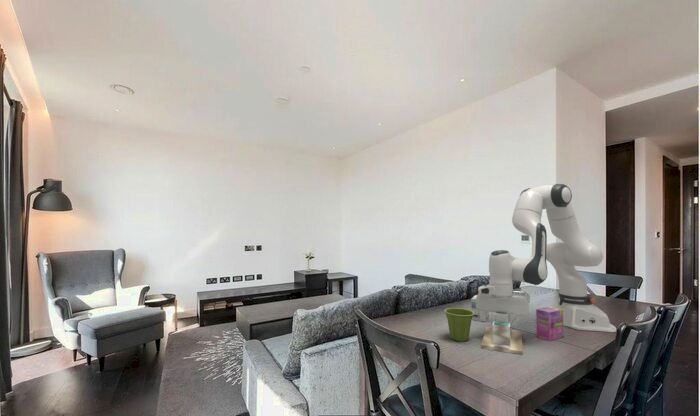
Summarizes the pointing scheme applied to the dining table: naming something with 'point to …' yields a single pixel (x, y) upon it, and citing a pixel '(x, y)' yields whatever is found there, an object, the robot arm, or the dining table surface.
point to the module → (502, 317)
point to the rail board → (513, 342)
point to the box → (549, 323)
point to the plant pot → (459, 323)
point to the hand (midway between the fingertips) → (502, 323)
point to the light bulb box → (478, 312)
